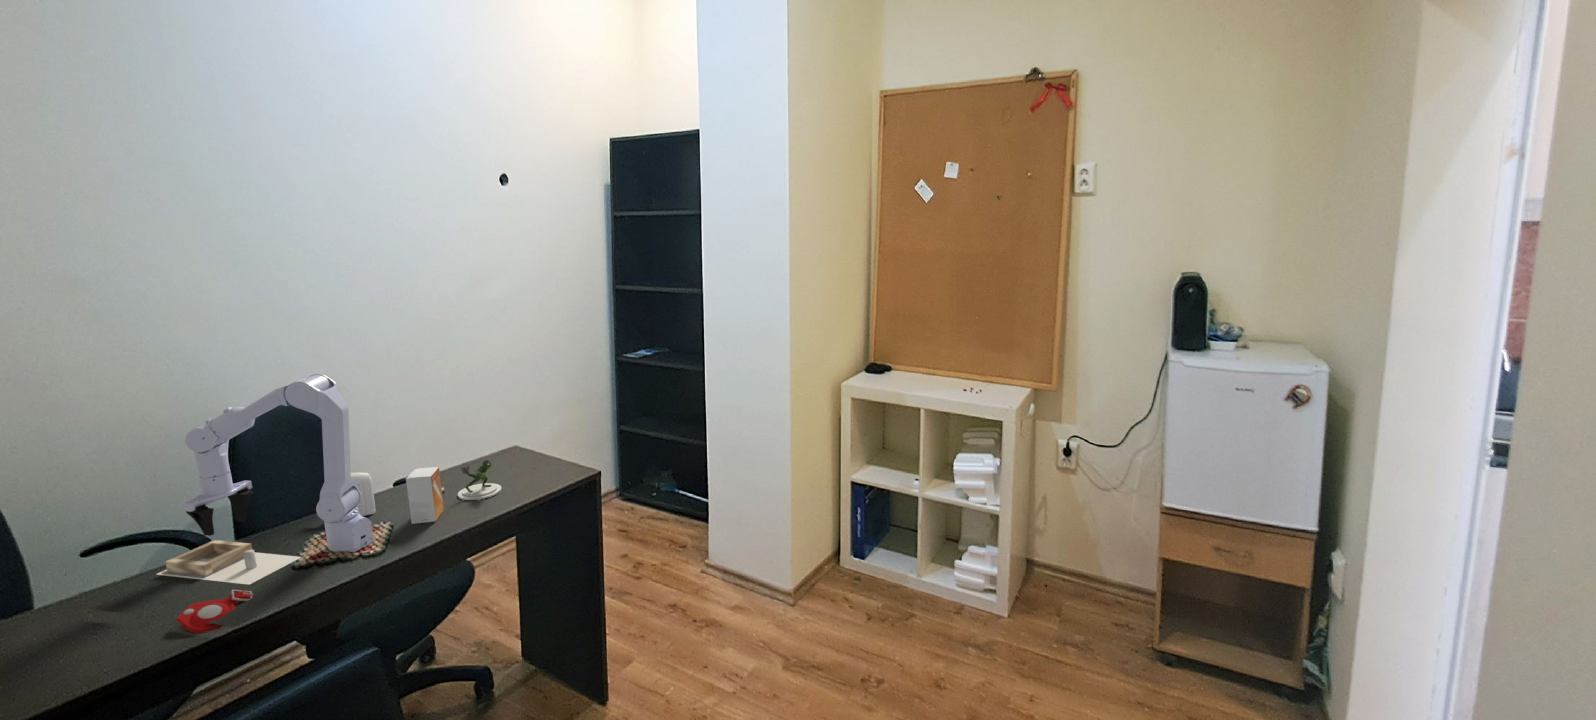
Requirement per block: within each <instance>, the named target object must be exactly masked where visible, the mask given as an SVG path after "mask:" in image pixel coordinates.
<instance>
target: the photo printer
mask: <svg viewBox="0 0 1596 720" xmlns="http://www.w3.org/2000/svg"><path fill="white" fill-rule="evenodd" d="M351 477H352V478H353V479H355V480H356V481H357V487H358V489H359V491H360V493H361V500H360V502H359V504H358V505H357V507H358V511H359V514H360V515H361V516H362V517H365V516H369V515H374V514H375V513H376V502H375V496H374V488H373V487H374V485H373V480H372V478H371V476H370V474H369V473H368V472H351Z"/></svg>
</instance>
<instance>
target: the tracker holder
mask: <svg viewBox="0 0 1596 720" xmlns="http://www.w3.org/2000/svg"><path fill="white" fill-rule="evenodd" d="M253 596H254V593H253V592H252V590H241V589H231V591H230V594H229V595H228V597H227V598H222V599H214V600H213V599H212V600H208V601H207V600H206V601H200V602H195V603H192V604H190V605H189V606H187V607H186V608H184V610H183V611H182V612H181V613H180V614H178V616H177V617H176V618H175V621H177V622H178V623H179V624H180V625H181V626H182V628H184V629H185V630H186V631H189V632H191V633H194V634H202V633H203V634H204V633H207V631H208V632H211V631H213V630H217V629H220V628H222V627H224V626H225V624H217V623H211V622H213V621H217V620H218V619H221V618H223V617H224V616H226V615H228V613H230V612H233V611H235V610H236V606H235V605H237V604H239V603H240V602H248V601H250V600H251V599H252V598H253Z"/></svg>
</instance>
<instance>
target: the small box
mask: <svg viewBox="0 0 1596 720" xmlns="http://www.w3.org/2000/svg"><path fill="white" fill-rule="evenodd" d="M440 472H441V471H440V466H433V467H419V468H415V469H414V470H413V471H411V473H409V475H408V476H406V478H405V483H406V489H407V490H406V491H407V498H408V505H409V513H410V521H411V524H412V525H413V524H414V525H415V524H422V523H423V524H425V523H432V522H433V523H434V522H437V521H438V519H439V517H440V516H441V515H442V513H444V510H445V509H444V507H445V506H444V500H443V491H442V490H443V489H442V482H441V481H442V480H441V473H440Z"/></svg>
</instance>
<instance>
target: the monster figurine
mask: <svg viewBox="0 0 1596 720" xmlns="http://www.w3.org/2000/svg"><path fill="white" fill-rule="evenodd" d="M491 462H492V461H490V460H488V459H485V460H484V461H483V462H482V464H481V463H480V465H476V467H478V468H477V469H476V471H475V473H469V472H470V471H469V470H470V466H469V465H467V466H466V467H465V466H464V467H462V466H460V470H461V472H462V473H463V474H465V475H467V476H469V477H470V478H472V479H473V478H474V479H473V480H471V481H470V482H469V483H468V484H467V485H466V486H465V487H464V488H463V489H460V491H458V493H457V498H458V497H459V498H460V499H464V500H473V499H484V498H486V497H491V496H493V495H495V494H497V493H498V492H499V491H501V489H503V487H502V486H501V484H498V483H490V482H488V483H487V481H488V477H487V476H486V474H487V471H488V470H489V469H490V468H492V463H491ZM478 481H481V482H482V483H477V484H475V483H476V482H478ZM501 492H502V491H501ZM459 498H458V499H459ZM491 498H492V497H491ZM460 499H459V500H460ZM464 500H463V501H464ZM484 500H485V499H484Z"/></svg>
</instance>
